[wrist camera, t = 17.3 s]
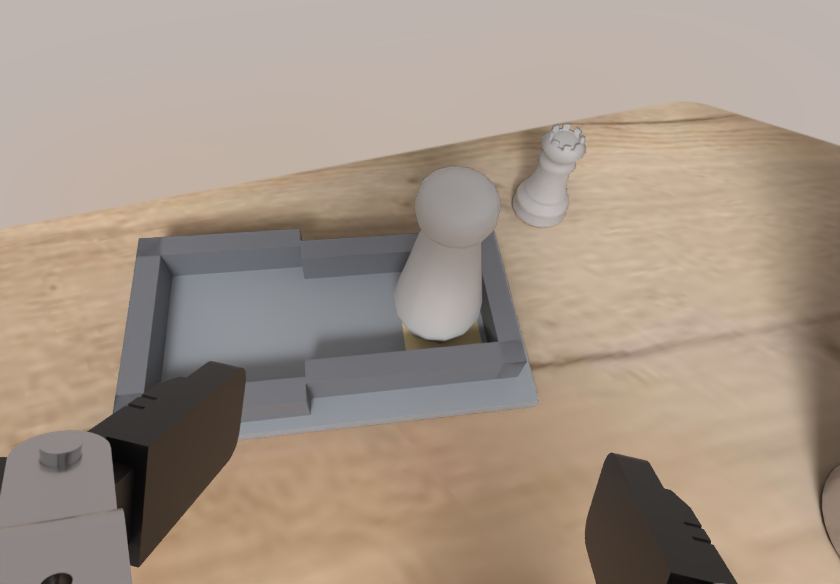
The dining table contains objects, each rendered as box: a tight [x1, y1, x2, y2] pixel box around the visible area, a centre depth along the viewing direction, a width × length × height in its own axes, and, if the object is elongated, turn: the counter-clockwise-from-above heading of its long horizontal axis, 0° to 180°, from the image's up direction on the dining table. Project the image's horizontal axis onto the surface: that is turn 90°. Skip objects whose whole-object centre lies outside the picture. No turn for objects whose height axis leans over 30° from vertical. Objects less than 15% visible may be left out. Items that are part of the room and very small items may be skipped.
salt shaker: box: [393, 166, 501, 344], centre depth 32 cm, size 6×6×13 cm
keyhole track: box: [113, 229, 539, 440], centre depth 36 cm, size 26×14×4 cm, turn 98°
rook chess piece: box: [513, 123, 586, 228], centre depth 42 cm, size 4×4×8 cm
